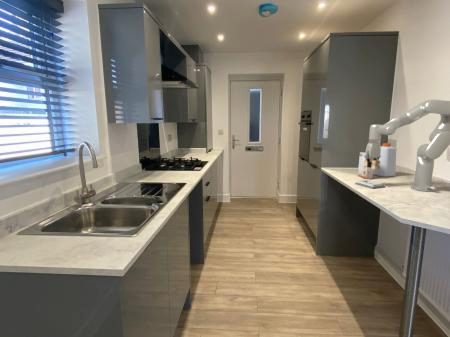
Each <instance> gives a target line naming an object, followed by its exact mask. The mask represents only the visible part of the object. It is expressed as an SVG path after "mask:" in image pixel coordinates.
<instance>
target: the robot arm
mask: <svg viewBox="0 0 450 337" xmlns="http://www.w3.org/2000/svg"><path fill="white" fill-rule="evenodd" d="M429 114H436V115H437V114H438V115H440V120H439V122H438V124H437V125H436V126H435V128H434V129H433V130H432V132H431V133H430V134H429V136H428V140H429V143H424V144H421V145H420V146H419V147H418V148H417V150H416V165H415V172H414V181H413V185H410V190H413V191H414V190H415V191H418V192H420V191H421V192H433V191H436V190H437V186H434V184H433V183H432V180H433V174H434V166H435V160H437V159H438V158H440V157H441V156H443V154H444V152H445V151H446V150H447V149H448V147H449V146H450V100H443V99H442V100H441V99H427V100H424V101H423V102H420V103H419V104H417V105H415V106H414V107H412V108H410V109H409V110H407V111H405V112H404V113H402V114H400V115H398V116H397V117H394V118H393V119H391V120H388V122H385V123H384V124H379V123H377V124H370V127H369V133H368V134H369V135H368V143H367V144H366V148H365V151H364V152H365V159H366V160H367V167H371V164H372V162H371V160H372V158H373V159H374V160H379V158H380V157H381V156H380V153H381V146H382V145H381V141H382V140H381V139H382V135H384V136H392V135H394V134H395V133H396V130H398V129H400V128H402V127H404V126H407V125H410V124H413V123H414V122H417V121H418V120H420V119H422V118H424V117H425V116H427V115H429ZM369 158H370V159H369ZM375 158H376V159H375Z"/></svg>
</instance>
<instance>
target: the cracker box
mask: <svg viewBox="0 0 450 337" xmlns="http://www.w3.org/2000/svg"><path fill="white" fill-rule="evenodd" d="M365 152H366V151H364V152H363V151H362V152H359V157H358V158H359V159H358V161H359V162H358V166H357V168H358V169H357V170H358V171H357V177H360V178H362V179H364V180H373V177H374V175H373V169H371V168H366V167H364V164H365ZM369 159H370V158H369ZM372 159H373V158H372ZM373 160H374V159H373Z"/></svg>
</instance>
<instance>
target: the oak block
mask: <svg viewBox="0 0 450 337" xmlns="http://www.w3.org/2000/svg"><path fill="white" fill-rule="evenodd" d="M371 162H372V164H371V167H367V160H366V159H365V164H364V167H366V168H371V169H379V168H380V161H379V160H373V159H372V160H371Z"/></svg>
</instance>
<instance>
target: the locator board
mask: <svg viewBox="0 0 450 337" xmlns="http://www.w3.org/2000/svg"><path fill="white" fill-rule="evenodd" d="M354 184H355V185H357V186H360V187H363V188H369V189H372V190H374V189H382V188H387V185H383V183H380V182H377V181H372V180H370V179H363V180H358V182H355V183H354Z"/></svg>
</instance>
